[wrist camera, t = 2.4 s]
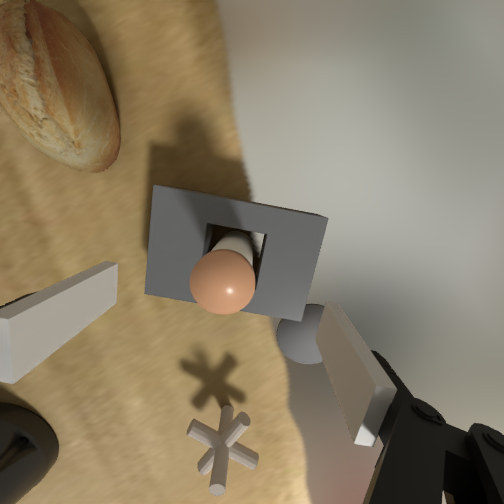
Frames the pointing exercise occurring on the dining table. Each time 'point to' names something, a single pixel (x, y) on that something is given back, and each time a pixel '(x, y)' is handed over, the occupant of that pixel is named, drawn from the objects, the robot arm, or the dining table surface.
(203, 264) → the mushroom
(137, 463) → the dining table surface
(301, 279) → the grey flat block
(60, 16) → the bread roll
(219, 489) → the pipe connector
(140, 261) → the dining table surface
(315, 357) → the grey round plate
